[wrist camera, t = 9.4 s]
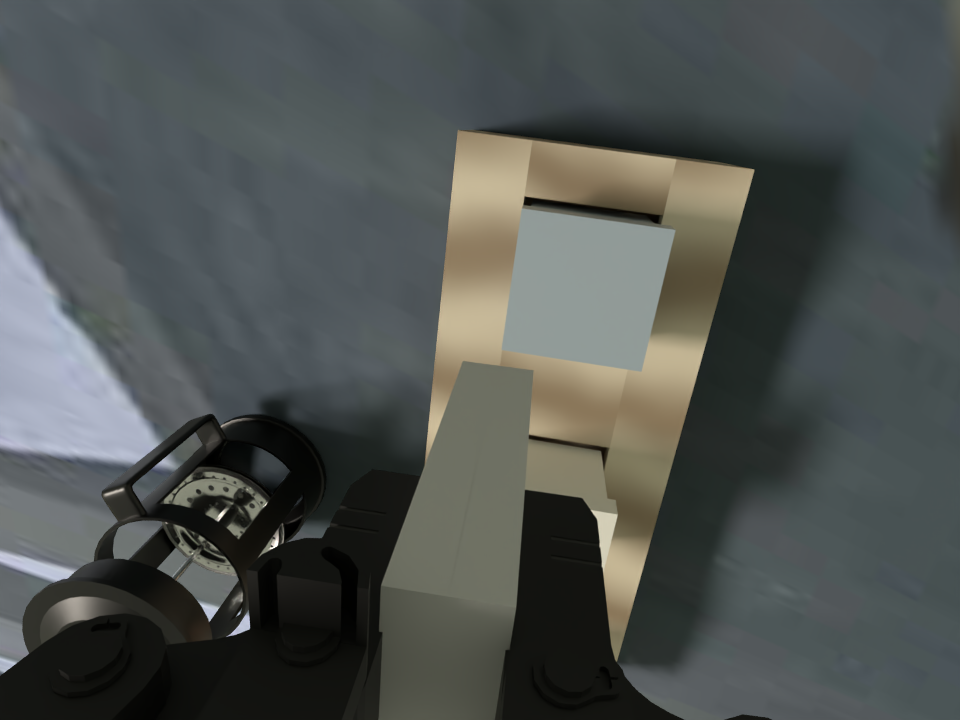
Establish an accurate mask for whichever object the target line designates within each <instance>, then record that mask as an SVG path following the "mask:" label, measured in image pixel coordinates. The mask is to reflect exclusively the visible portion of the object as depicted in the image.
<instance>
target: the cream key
mask: <svg viewBox="0 0 960 720" xmlns="http://www.w3.org/2000/svg"><path fill="white" fill-rule="evenodd" d="M525 490H531V491H538V492H545V493H552V494H559V495H565V496H572V497H579V498H583V500H584V501H585V502H586V504H587V505H588V507H589V508H590V510H591V511H592V513H593V514H594V515H595V517H596V518H597V521H598V530H599V539H600V546H599V547H600V548H601V557H602V567H603V572H604V568H605V564H606V560H607V556H608V552H609V548H610V544H611V540H612V536H613V532H614V528H615V524H616V520H617V516H618V512H617V506H616V500H613V499H607V492H606V484H605V477H604V469H603V462H602V455H601V451H598V450H592V449H586V448H580V447H574V446H568V445H562V444H556V443H550V442H544V441H538V440H532V439H529V440H528V453H527V467H526V481H525Z"/></svg>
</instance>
